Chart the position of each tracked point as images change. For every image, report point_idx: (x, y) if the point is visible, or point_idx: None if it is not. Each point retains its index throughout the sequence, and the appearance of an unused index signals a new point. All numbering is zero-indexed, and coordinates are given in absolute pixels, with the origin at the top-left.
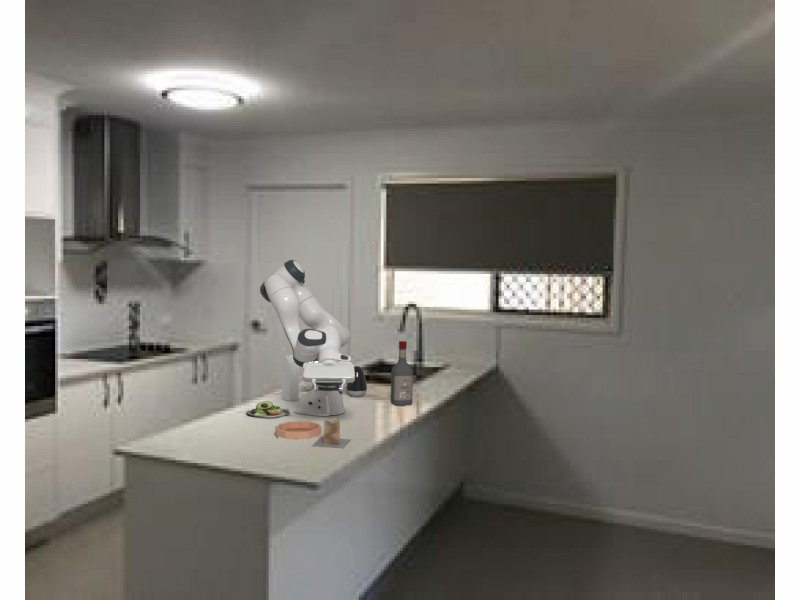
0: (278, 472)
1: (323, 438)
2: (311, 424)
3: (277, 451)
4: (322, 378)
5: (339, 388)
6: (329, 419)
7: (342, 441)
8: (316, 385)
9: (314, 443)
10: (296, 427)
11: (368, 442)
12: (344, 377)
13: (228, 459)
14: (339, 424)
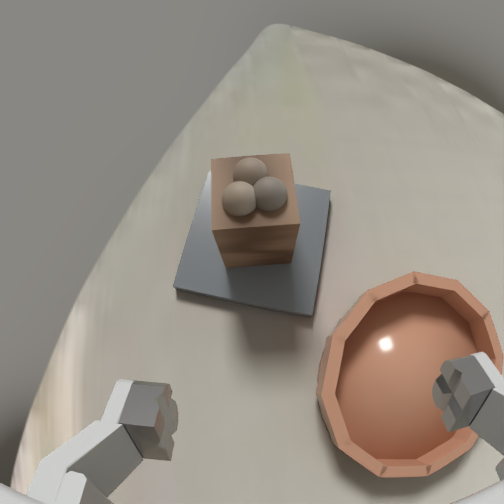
0: (357, 52)
1: (297, 298)
2: (372, 457)
3: (423, 174)
4: (471, 497)
5: (161, 386)
6: (266, 176)
7: (211, 254)
8: (487, 384)
9: (324, 223)
10: (428, 453)
11: (112, 285)
12: (24, 500)
13: (489, 129)
14: (213, 161)
